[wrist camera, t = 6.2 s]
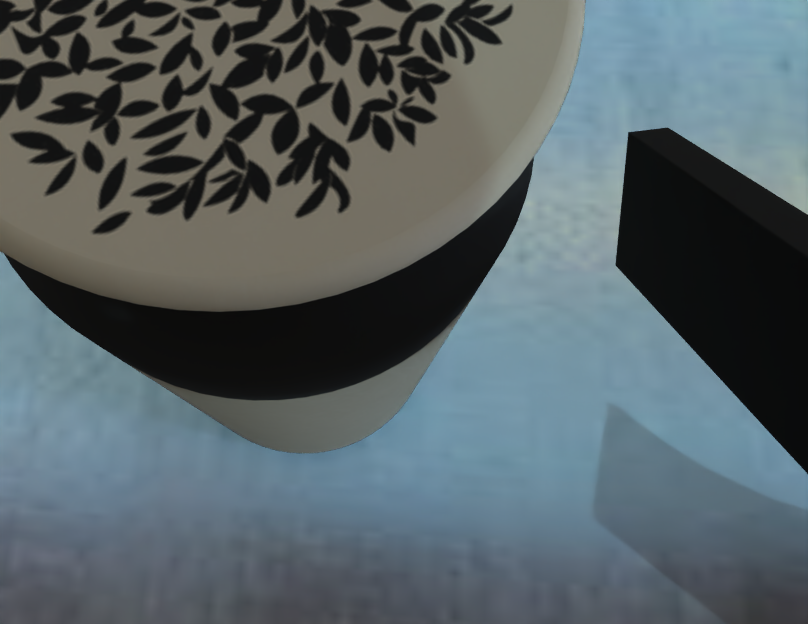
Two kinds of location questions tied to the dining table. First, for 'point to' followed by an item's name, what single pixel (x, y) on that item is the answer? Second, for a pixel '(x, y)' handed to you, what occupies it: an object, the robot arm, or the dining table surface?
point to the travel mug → (273, 187)
